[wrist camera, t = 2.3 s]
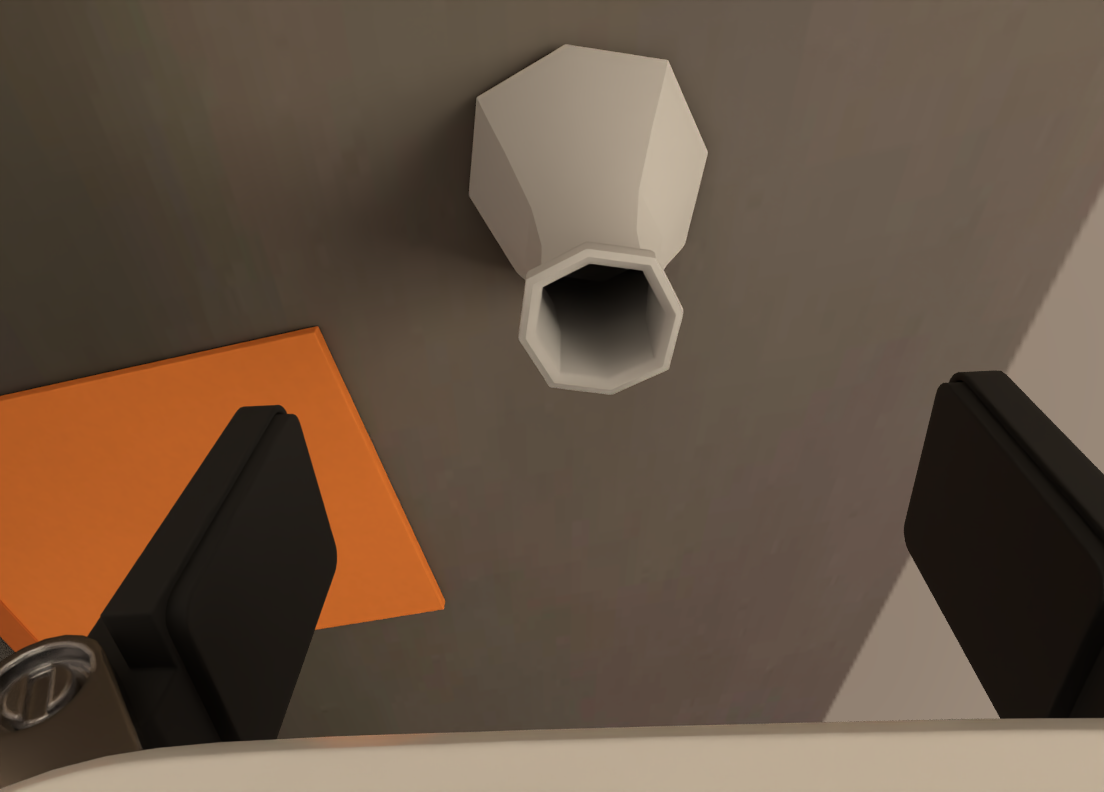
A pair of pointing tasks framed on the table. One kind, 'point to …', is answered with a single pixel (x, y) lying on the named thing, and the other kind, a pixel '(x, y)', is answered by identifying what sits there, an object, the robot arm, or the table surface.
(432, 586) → the orange rectangular board
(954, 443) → the robot arm
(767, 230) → the table surface
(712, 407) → the table surface
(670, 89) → the flask
